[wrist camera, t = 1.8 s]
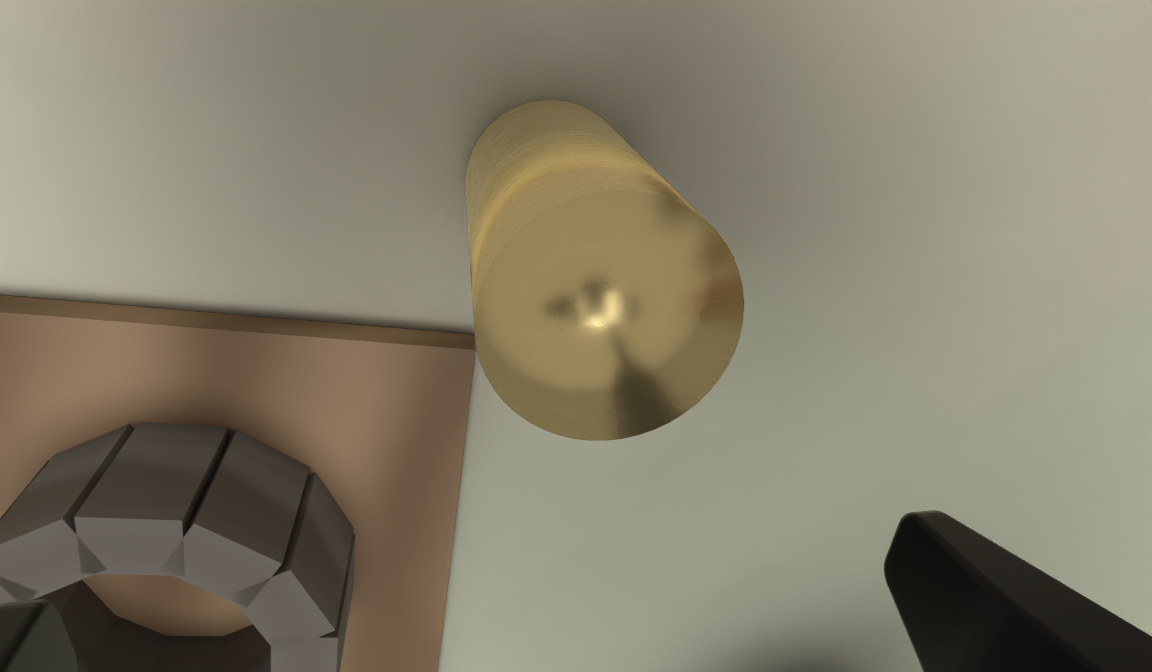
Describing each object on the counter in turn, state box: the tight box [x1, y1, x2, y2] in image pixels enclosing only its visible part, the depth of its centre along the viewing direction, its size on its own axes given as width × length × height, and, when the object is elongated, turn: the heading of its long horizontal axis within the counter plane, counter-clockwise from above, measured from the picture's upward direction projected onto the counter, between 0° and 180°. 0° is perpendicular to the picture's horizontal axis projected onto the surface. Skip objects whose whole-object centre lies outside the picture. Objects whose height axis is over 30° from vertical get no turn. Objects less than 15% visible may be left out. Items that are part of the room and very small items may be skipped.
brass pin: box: [465, 99, 744, 440], centre depth 17 cm, size 4×4×9 cm
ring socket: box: [0, 295, 476, 672], centre depth 21 cm, size 15×15×5 cm
